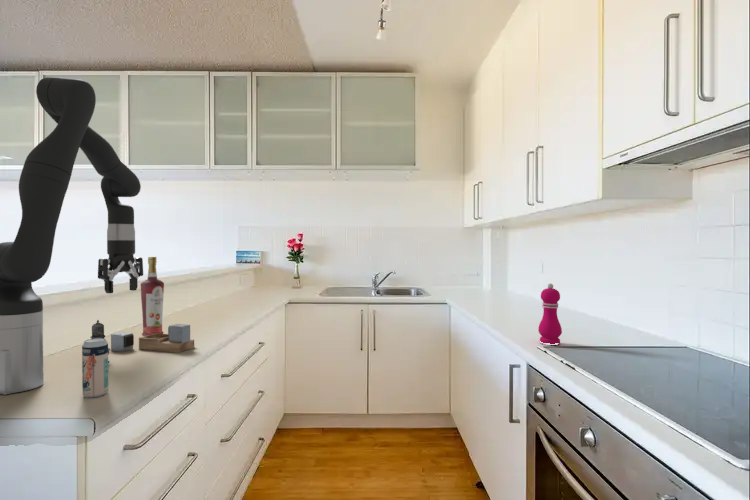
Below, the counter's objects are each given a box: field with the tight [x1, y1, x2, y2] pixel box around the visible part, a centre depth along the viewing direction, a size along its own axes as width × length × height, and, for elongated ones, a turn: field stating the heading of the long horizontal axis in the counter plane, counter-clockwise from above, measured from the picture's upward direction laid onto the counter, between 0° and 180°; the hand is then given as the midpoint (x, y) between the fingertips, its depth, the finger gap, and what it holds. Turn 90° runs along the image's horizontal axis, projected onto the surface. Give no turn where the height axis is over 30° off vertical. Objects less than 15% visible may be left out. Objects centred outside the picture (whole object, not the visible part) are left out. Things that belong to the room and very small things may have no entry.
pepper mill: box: [537, 283, 563, 344], centre depth 147 cm, size 7×7×20 cm
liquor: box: [140, 256, 165, 337], centre depth 155 cm, size 7×7×28 cm
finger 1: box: [110, 331, 135, 353], centre depth 137 cm, size 4×6×5 cm, turn 72°
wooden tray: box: [138, 333, 195, 354], centre depth 139 cm, size 7×15×4 cm, turn 72°
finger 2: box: [167, 323, 191, 343], centre depth 138 cm, size 4×6×5 cm, turn 72°
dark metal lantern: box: [90, 319, 111, 364], centre depth 122 cm, size 6×6×12 cm
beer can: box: [81, 337, 109, 399], centre depth 97 cm, size 5×5×12 cm
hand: (121, 291), depth 137 cm, fingers open, 8 cm apart
